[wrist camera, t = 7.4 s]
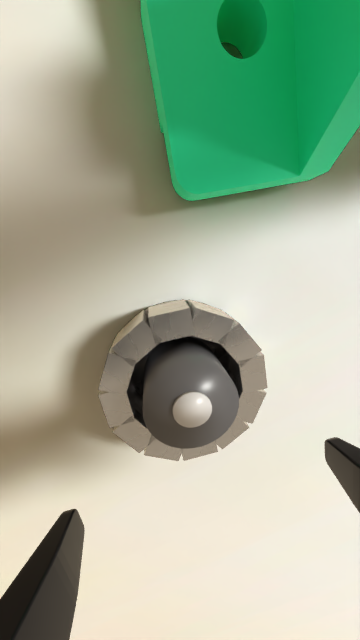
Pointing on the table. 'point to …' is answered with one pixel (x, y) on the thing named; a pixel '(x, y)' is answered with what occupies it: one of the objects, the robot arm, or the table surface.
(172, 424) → the cap
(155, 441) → the grey piece
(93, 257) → the table surface
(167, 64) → the camera mount
